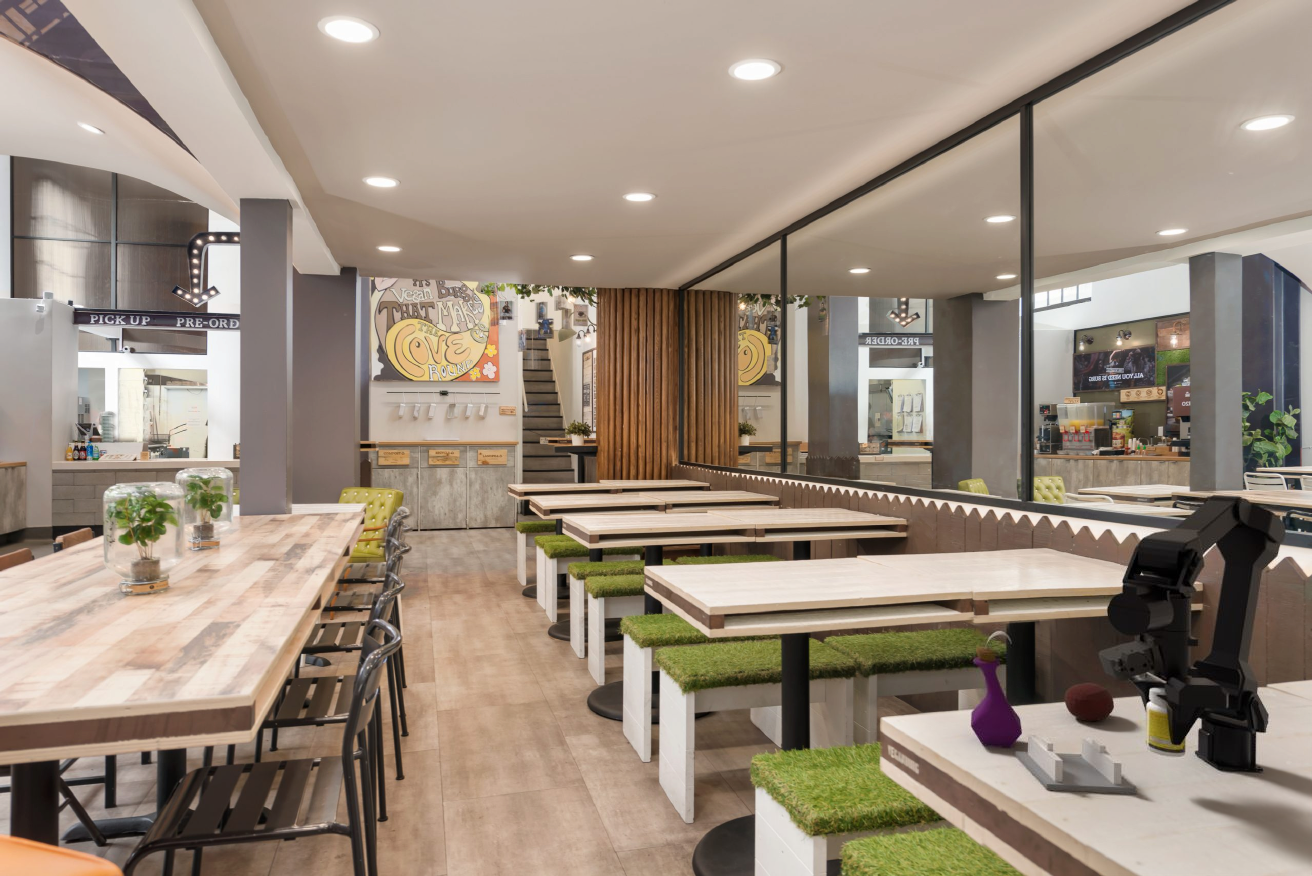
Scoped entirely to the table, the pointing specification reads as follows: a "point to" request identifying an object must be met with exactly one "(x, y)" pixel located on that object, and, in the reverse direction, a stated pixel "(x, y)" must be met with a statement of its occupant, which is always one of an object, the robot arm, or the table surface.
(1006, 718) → the purple potion bottle
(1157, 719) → the supplement bottle
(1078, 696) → the potato
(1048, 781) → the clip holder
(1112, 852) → the table surface
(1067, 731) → the table surface
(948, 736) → the table surface
